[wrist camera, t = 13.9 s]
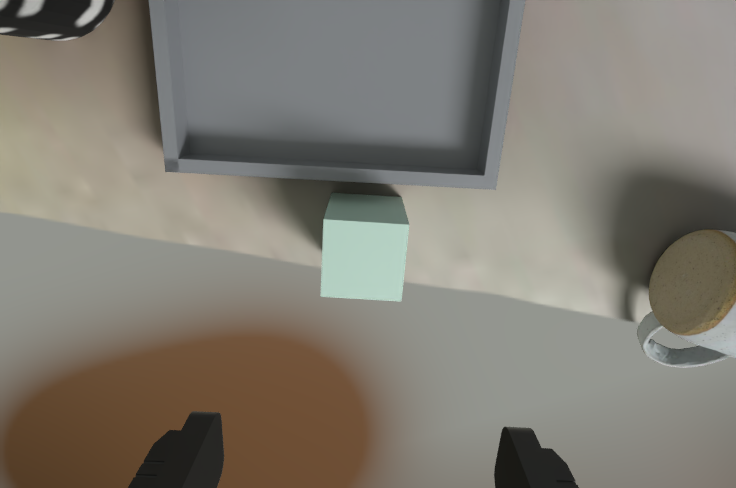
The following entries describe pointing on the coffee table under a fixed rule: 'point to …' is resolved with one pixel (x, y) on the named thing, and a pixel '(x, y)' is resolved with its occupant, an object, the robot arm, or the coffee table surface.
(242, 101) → the gray tray
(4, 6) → the white-spotted black cylinder
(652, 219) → the coffee table surface
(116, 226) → the coffee table surface
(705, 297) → the ceramic mug
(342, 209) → the sage block
